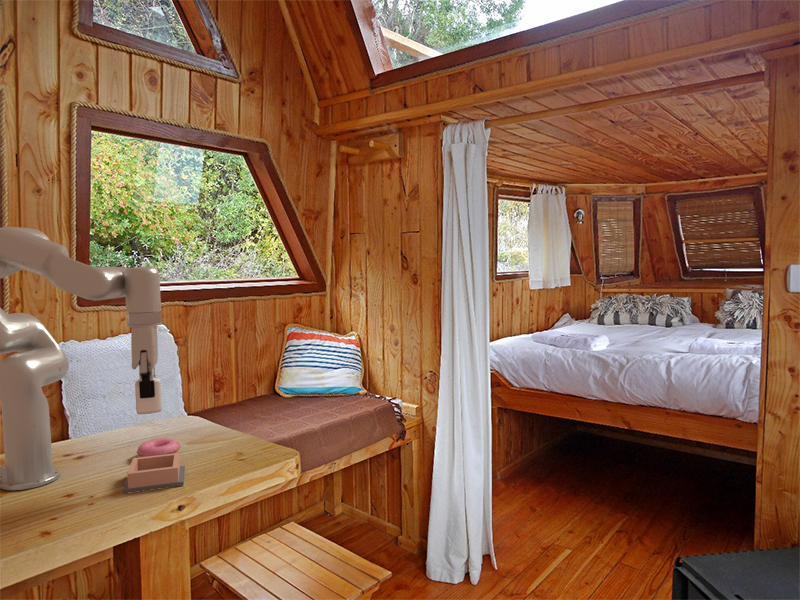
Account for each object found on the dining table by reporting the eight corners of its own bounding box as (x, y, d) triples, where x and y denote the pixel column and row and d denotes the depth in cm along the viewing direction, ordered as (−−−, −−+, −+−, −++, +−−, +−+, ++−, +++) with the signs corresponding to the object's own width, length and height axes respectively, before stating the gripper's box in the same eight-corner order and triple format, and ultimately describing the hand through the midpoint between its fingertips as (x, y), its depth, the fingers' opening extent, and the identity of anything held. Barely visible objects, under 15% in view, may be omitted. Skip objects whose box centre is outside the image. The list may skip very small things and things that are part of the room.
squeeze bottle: (156, 414, 132) (154, 364, 131) (133, 414, 132) (130, 364, 131) (165, 409, 136) (162, 361, 135) (142, 409, 136) (139, 361, 135)
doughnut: (148, 449, 158) (148, 435, 158) (187, 449, 158) (186, 435, 158) (129, 464, 148) (128, 449, 147) (170, 464, 147) (169, 449, 147)
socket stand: (122, 493, 129) (122, 474, 128) (128, 476, 139) (128, 458, 139) (183, 485, 133) (182, 467, 133) (184, 469, 143) (184, 452, 143)
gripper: (131, 316, 139) (135, 389, 140) (121, 324, 123) (126, 405, 125) (164, 315, 141) (168, 386, 143) (158, 322, 125) (162, 402, 127)
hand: (148, 394), depth 134 cm, fingers closed on squeeze bottle, 3 cm apart
